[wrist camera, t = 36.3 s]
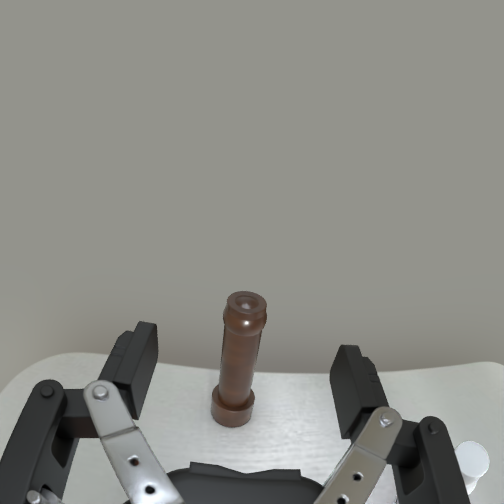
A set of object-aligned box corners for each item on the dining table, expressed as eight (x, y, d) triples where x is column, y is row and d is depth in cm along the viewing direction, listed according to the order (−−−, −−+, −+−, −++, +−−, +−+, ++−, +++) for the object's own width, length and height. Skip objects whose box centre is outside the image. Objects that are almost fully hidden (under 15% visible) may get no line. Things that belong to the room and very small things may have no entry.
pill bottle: (444, 516, 19) (503, 471, 15) (402, 532, 18) (462, 493, 14) (429, 479, 24) (480, 428, 20) (389, 490, 23) (438, 442, 19)
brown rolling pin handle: (219, 432, 30) (232, 319, 23) (205, 401, 33) (212, 287, 27) (257, 421, 32) (284, 309, 25) (241, 393, 35) (259, 281, 28)
